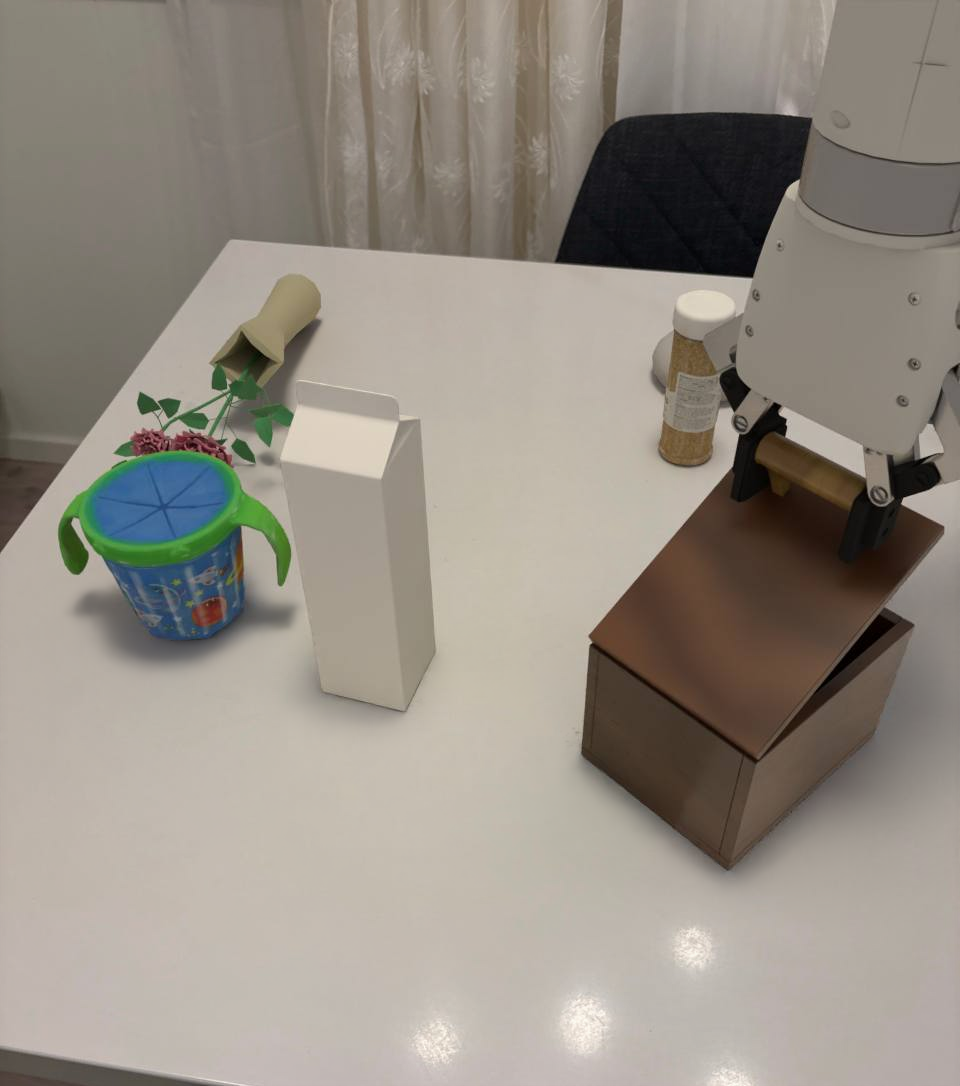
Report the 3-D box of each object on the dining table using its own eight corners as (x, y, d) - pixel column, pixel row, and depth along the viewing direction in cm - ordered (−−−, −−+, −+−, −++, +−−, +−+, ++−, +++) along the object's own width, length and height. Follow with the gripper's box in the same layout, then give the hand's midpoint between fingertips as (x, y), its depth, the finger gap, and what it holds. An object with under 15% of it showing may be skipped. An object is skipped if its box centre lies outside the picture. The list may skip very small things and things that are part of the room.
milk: (356, 632, 76) (316, 349, 60) (437, 650, 74) (418, 366, 59) (320, 694, 71) (268, 408, 56) (406, 714, 70) (376, 427, 54)
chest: (728, 639, 74) (750, 529, 67) (874, 734, 68) (915, 624, 61) (580, 753, 68) (588, 644, 61) (727, 871, 61) (755, 764, 54)
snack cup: (57, 645, 75) (10, 532, 68) (124, 548, 82) (87, 436, 75) (269, 678, 73) (243, 564, 65) (319, 575, 80) (300, 462, 72)
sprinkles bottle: (664, 432, 92) (682, 283, 82) (717, 441, 91) (742, 292, 81) (651, 462, 89) (669, 312, 79) (707, 473, 88) (731, 321, 78)
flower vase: (337, 400, 109) (249, 566, 80) (219, 361, 108) (86, 516, 79) (365, 287, 103) (282, 423, 74) (240, 245, 102) (105, 366, 73)
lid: (763, 439, 62) (749, 380, 57) (945, 533, 56) (946, 475, 51) (591, 641, 61) (562, 598, 56) (758, 761, 54) (742, 723, 50)
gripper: (1144, 215, 42) (990, 567, 54) (778, 100, 51) (719, 425, 63) (1050, 276, 38) (908, 638, 51) (674, 141, 47) (634, 476, 60)
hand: (804, 517), depth 57 cm, fingers closed on lid, 6 cm apart
